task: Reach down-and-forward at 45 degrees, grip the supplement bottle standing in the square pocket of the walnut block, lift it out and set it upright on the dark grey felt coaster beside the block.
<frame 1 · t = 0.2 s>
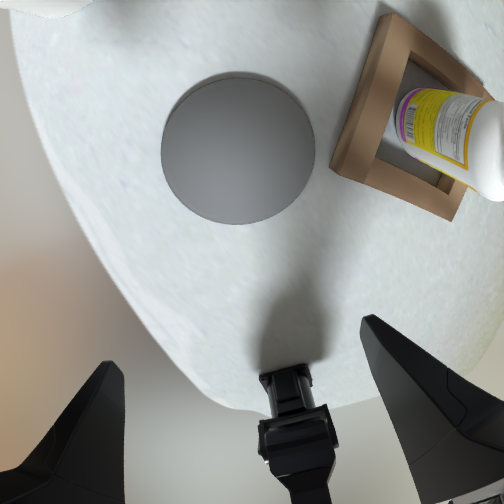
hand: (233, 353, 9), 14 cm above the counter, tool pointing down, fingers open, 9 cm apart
coaster: (238, 152, 19), on the counter
supplement bottle: (420, 122, 19), resting in pocket block
pocket block: (422, 123, 19), on the counter
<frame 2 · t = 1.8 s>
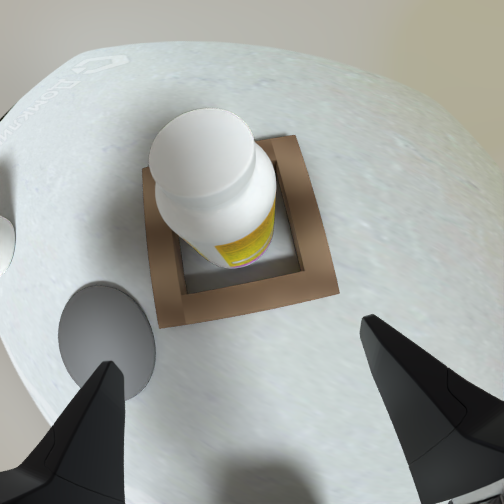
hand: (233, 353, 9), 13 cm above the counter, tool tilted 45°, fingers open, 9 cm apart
coaster: (103, 344, 22), on the counter
pill bottle: (2, 248, 25), on the counter
supplement bottle: (233, 231, 24), resting in pocket block
pocket block: (233, 230, 24), on the counter
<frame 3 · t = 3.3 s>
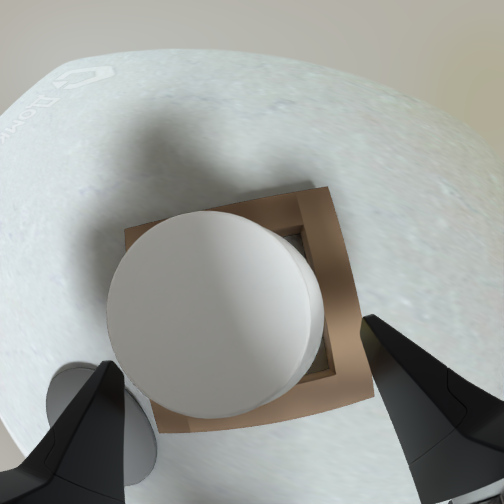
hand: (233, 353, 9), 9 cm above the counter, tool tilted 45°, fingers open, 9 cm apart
coaster: (96, 430, 16), on the counter
supplement bottle: (245, 316, 18), resting in pocket block
pocket block: (245, 316, 18), on the counter
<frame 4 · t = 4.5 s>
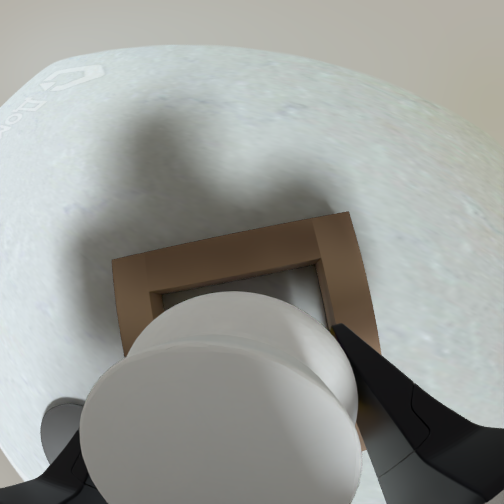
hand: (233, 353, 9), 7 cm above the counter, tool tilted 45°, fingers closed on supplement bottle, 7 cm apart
coaster: (94, 465, 14), on the counter
supplement bottle: (252, 358, 16), resting in pocket block, touching gripper
pocket block: (252, 359, 15), on the counter
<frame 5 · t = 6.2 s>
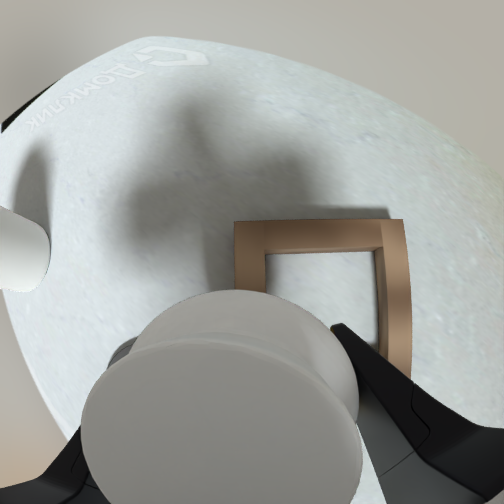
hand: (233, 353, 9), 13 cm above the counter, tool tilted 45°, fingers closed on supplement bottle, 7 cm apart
pill bottle: (31, 258, 24), on the counter
supplement bottle: (253, 357, 16), point 6 cm above the counter, touching gripper
pocket block: (325, 310, 22), on the counter
when the fingers open (8 cm above the counter, at t = 8.2 s): supplement bottle stays where it is, resting on coaster.
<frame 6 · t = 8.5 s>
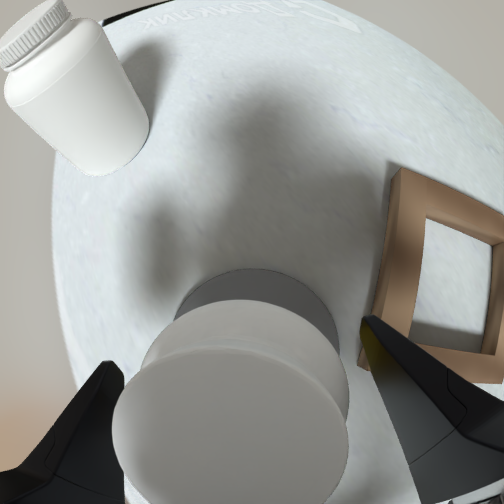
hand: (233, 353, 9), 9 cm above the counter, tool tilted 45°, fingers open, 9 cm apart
coaster: (252, 354, 17), on the counter
pill bottle: (113, 141, 21), on the counter
supplement bottle: (253, 358, 17), resting on coaster
pocket block: (454, 287, 17), on the counter
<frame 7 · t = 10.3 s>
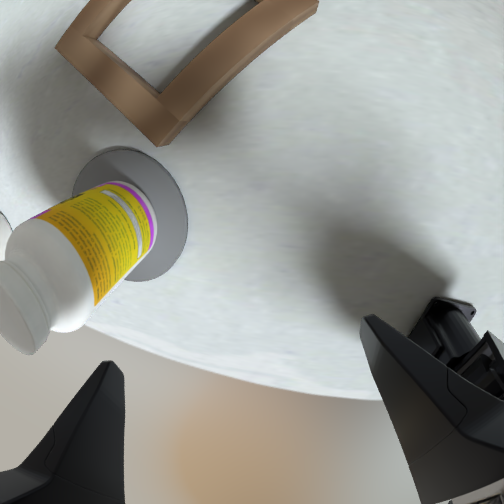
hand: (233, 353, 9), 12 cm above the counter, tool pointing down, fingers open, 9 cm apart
coaster: (124, 217, 21), on the counter
pill bottle: (3, 238, 24), on the counter
supplement bottle: (124, 219, 20), resting on coaster
pocket block: (172, 18, 14), on the counter
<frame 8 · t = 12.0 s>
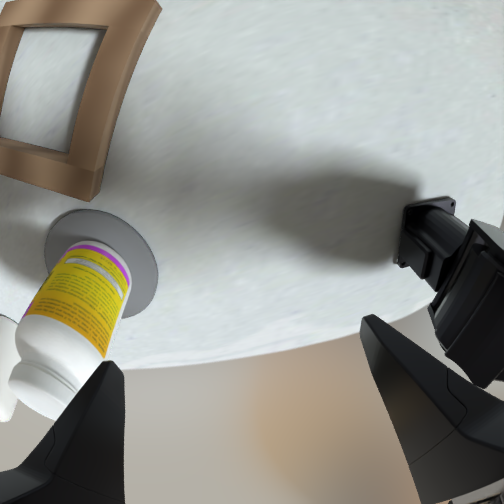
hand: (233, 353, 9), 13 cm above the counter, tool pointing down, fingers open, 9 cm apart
coaster: (98, 268, 21), on the counter
pill bottle: (15, 334, 25), on the counter
supplement bottle: (98, 270, 21), resting on coaster
pocket block: (45, 85, 13), on the counter
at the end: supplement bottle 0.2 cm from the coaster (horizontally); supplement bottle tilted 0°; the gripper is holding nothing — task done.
